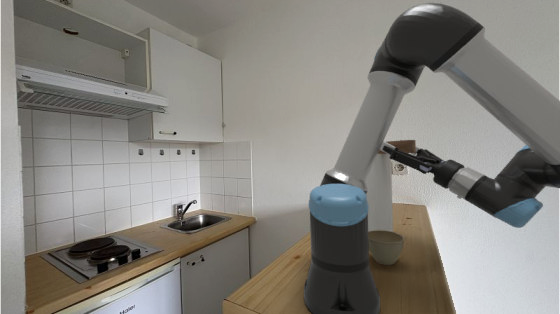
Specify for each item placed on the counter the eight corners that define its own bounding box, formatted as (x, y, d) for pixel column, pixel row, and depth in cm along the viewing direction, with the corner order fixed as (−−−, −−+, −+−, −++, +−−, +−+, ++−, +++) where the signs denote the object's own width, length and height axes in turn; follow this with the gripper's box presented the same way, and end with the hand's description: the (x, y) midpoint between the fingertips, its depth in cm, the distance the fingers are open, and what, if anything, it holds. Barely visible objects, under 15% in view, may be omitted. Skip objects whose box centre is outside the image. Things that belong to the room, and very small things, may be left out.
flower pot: (367, 251, 70) (366, 228, 70) (403, 256, 65) (403, 232, 65) (363, 265, 61) (363, 239, 61) (406, 273, 56) (405, 244, 56)
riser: (376, 245, 74) (374, 154, 74) (342, 233, 85) (340, 154, 85) (393, 238, 80) (390, 153, 79) (359, 228, 91) (357, 154, 91)
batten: (409, 153, 68) (409, 139, 68) (345, 154, 88) (344, 144, 88) (415, 152, 70) (415, 140, 70) (351, 154, 90) (351, 144, 90)
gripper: (427, 195, 54) (360, 153, 69) (465, 185, 68) (402, 152, 83) (445, 169, 51) (370, 131, 66) (480, 163, 65) (412, 133, 80)
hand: (388, 142), depth 75 cm, fingers open, 13 cm apart
